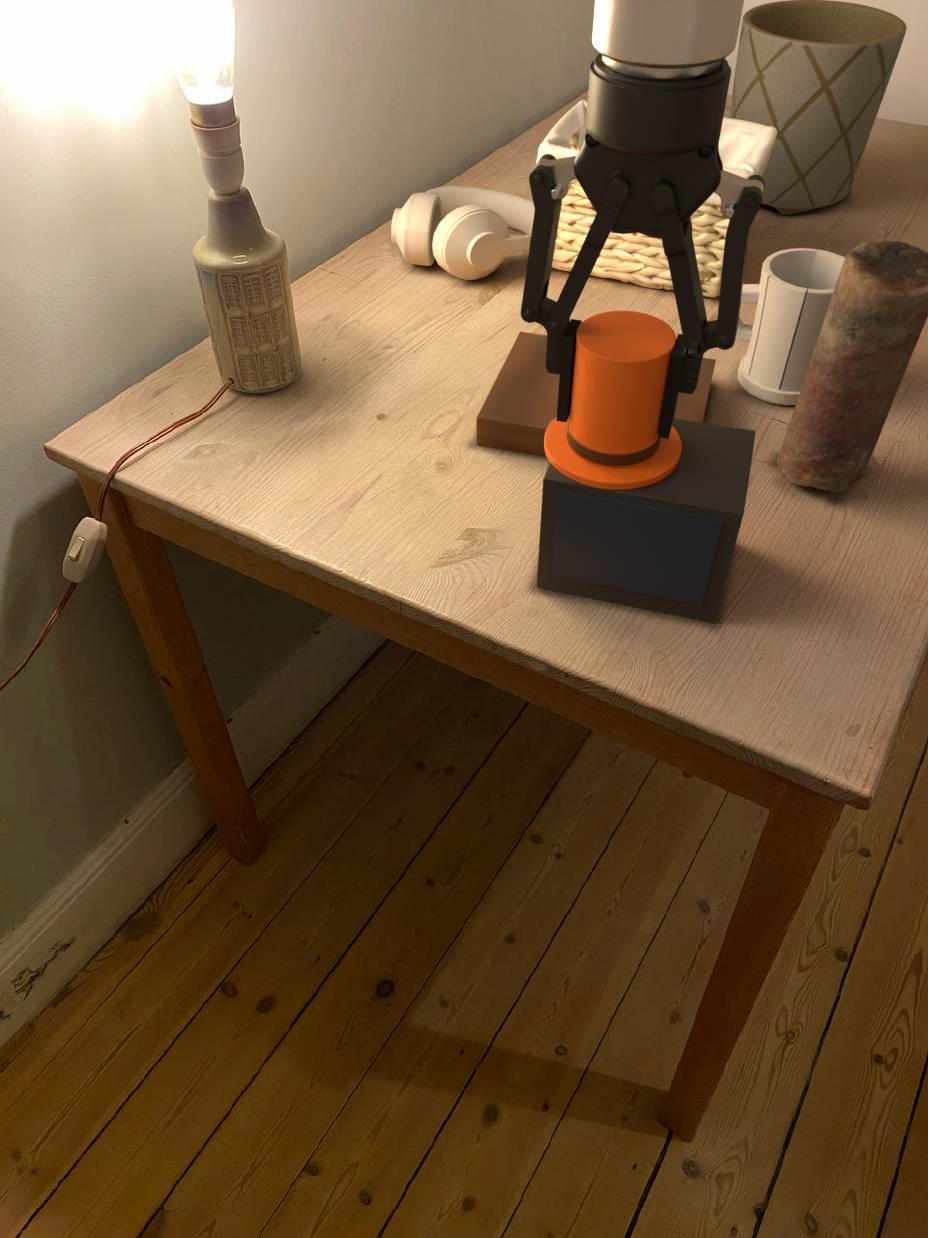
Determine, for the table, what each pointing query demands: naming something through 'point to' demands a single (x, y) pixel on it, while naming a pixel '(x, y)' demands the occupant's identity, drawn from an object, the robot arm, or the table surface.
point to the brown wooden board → (548, 399)
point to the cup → (786, 321)
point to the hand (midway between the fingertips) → (615, 418)
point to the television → (651, 529)
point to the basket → (640, 254)
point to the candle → (857, 365)
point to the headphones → (462, 229)
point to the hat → (617, 404)
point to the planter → (814, 92)
